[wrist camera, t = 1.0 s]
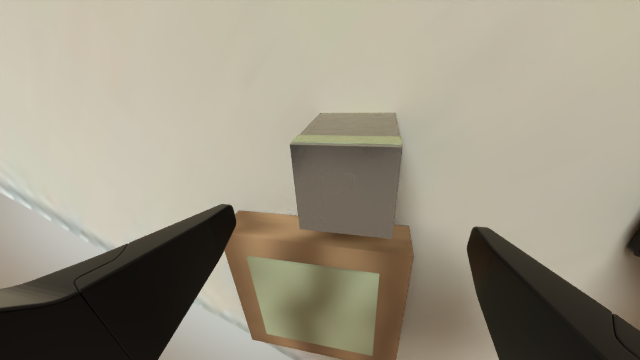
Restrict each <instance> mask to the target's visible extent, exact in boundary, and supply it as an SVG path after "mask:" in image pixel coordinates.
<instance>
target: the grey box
mask: <svg viewBox="0 0 640 360" xmlns="http://www.w3.org/2000/svg"><path fill="white" fill-rule="evenodd" d="M290 149H291V158H292V167H293V175H294V184H295V193H296V201H297V210H298V218H299V227H300V229H303V230H312V231H321V232H331V233H340V234H350V235H359V236H369V237H378V238H387V239H392V236H393V227H394V218H395V208H396V199H397V190H398V181H399V172H400V163H401V154H402V141H401V137H400V134H399V129H398V124H397V119H396V114H395V113H320V114H319V115H318V116H317V117H316V118H315V119H314V120H313V121H312V122H311V123H310V124H309V125H308V126H307V127H306V129H305V130H304V131H303V132H302V133H301V134H300V135H298V136H297V137H296V138H295V139H294V140H293V141H292V143H291V144H290Z"/></svg>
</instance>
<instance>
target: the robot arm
mask: <svg viewBox="0 0 640 360" xmlns="http://www.w3.org/2000/svg"><path fill="white" fill-rule="evenodd" d="M235 227H236V217H235V214H234V210H233V207H232V206H231V205H228V204H221V205H218V206H216V207H213V208H211V209H209V210H206V211H204V212H201V213H199V214H197V215H194V216H192V217H190V218H187V219H185V220H182V221H180V222H178V223H175V224H173V225H171V226H168V227H166V228H163V229H161V230H159V231H156V232H154V233H151V234H149V235H147V236H144V237H142V238H140V239H137V240H135V241H132V242H130V243H129V244H125V245H123V246H120V247H118V248H116V249H113V250H111V251H108V252H106V253H103V254H101V255H98V256H96V257H93V258H91V259H88V260H85V261H83V262H80V263H78V264H75V265H72V266H70V267H67V268H64V269H62V270H59V271H56V272H54V273H51V274H48V275H46V276H43V277H40V278H38V279H35V280H32V281H30V282H26V283H23V284H20V285H16V286H13V287H8V288H3V289H0V360H158V359H159V357H160V355H161V354H162V352H163V351H164V349H165V347H166V346H167V344H168V342H169V341H170V339H171V338H172V336H173V334H174V332H175V331H176V329H177V328H178V326H179V324H180V323H181V321H182V320H183V318H184V316H185V315H186V313H187V312H188V310H189V308H190V306H191V305H192V303H193V302H194V300H195V299H196V297H197V295H198V294H199V292H200V290H201V289H202V287H203V286H204V284H205V282H206V281H207V279H208V277H209V276H210V274H211V273H212V271H213V269H214V268H215V266H216V264H217V263H218V261H219V259H220V258H221V256H222V254H223V252H224V250H225V248H226V246H227V244H228V241H229V239H230V237H231V235H232V233H233V231H234V229H235ZM628 250H629V251H631V252H632V253H633V254H634V255H636V256H638V257H640V230H639V231H638V233H637V234H636V236H635V237H634V238H633V240H632V241H631V243H630V244H629V246H628ZM467 253H468V258H469V263H470V267H471V272H472V276H473V281H474V285H475V290H476V294H477V297H478V300H479V303H480V306H481V309H482V312H483V315H484V318H485V320H486V323H487V326H488V329H489V332H490V335H491V338H492V341H493V343H494V346H495V349H496V352H497V355H498V358H499V360H640V331H639V330H638V329H636V328H635V327H633V326H632V325H631V324H629V323H628V322H626V321H625V320H623V319H622V318H620V317H619V316H617V315H616V314H612V312H611V311H610V310H608V309H607V308H605V307H604V306H603V305H601V304H600V303H598V302H597V301H595V300H594V299H592V298H591V297H589V296H588V295H586V294H585V293H583V292H582V291H580V290H579V289H578V288H576V287H575V286H573V285H572V284H570V283H569V282H567V281H566V280H564V279H563V278H561V277H560V276H558V275H557V274H556V273H554V272H553V271H551V270H550V269H548V268H547V267H545V266H544V265H542V264H541V263H539V262H538V261H536V260H535V259H533V258H532V257H531V256H529V255H528V254H526V253H525V252H523V251H522V250H520V249H519V248H517V247H516V246H514V245H513V244H511V243H510V242H508V241H507V240H506V239H504V238H503V237H501V236H500V235H498V234H497V233H495V232H494V231H492V230H491V229H489V228H487V227H474V228H473V229H472V231H471V234H470V238H469V241H468V245H467Z"/></svg>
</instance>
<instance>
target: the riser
mask: <svg viewBox="0 0 640 360" xmlns="http://www.w3.org/2000/svg"><path fill="white" fill-rule="evenodd" d="M235 217H236V227H235V229H234V231H233V233H232V235H231V237H230V239H229V241H228V244H227V246H226V248H225V250H224V251H225V254H226V257H227V260H228V263H229V267H230V270H231V273H232V276H233V279H234V282H235V285H236V289H237V292H238V295H239V298H240V301H241V304H242V308H243V311H244V314H245V317H246V320H247V323H248V327H249V330H250V333H251V336H252V339H253V340H258V341H262V342H266V343H271V344H275V345H280V346H284V347H289V348H294V349H298V350H303V351H307V352H312V353H316V354H321V355H326V356H330V357H335V358H339V359H344V360H396V357H397V351H398V345H399V339H400V333H401V327H402V321H403V315H404V309H405V303H406V298H407V292H408V286H409V280H410V274H411V268H412V262H413V249H412V242H411V236H410V229H409V226H401V225H394V227H393V236H392V239H387V238H378V237H369V236H359V235H350V234H340V233H331V232H321V231H312V230H303V229H300V227H299V218H298V216H292V215H282V214H271V213H260V212H249V211H238V212H237V213H236V214H235Z"/></svg>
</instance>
